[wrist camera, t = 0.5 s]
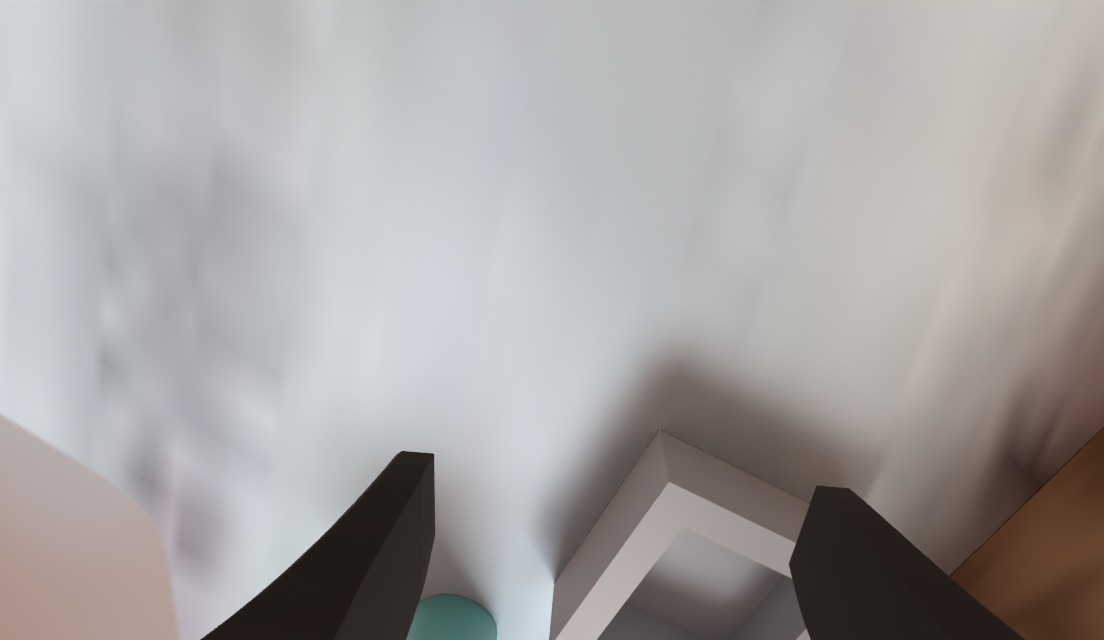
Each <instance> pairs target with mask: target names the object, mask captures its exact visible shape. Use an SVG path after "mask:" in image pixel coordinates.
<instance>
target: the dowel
mask: <svg viewBox="0 0 1104 640" xmlns="http://www.w3.org/2000/svg"><path fill="white" fill-rule="evenodd" d="M496 638H497V628H496V624H495V622H494V620H493V618H492V616H491V615H490V614H489V613H488V612H487V610H486V609H484V608H483V607H482V606H481V605H479V604H478V603H476V602H474V601H472V600H470V599H467V598H464V597H461V596H455V595H438V596H433V597H430V598H427V599H425V600H423V601H421V602H420V603H419V604H418V606H417V609H416V612H415V615H414V618H413V621H412V624H411V627H410V630H409V633H408V636H407V639H406V640H496Z"/></svg>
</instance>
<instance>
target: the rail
mask: <svg viewBox="0 0 1104 640" xmlns="http://www.w3.org/2000/svg"><path fill="white" fill-rule="evenodd" d="M950 578H951V579H952V580H954V581H955V582H956V583H957V584H958V585H959V586H961V587H962V588H963V589H964V590H965V591H966V592H968V593H969V594H970V595H971V596H972V597H974V598H975V599H976V600H977V601H978V602H979V603H981V604H982V605H983V606H984V607H986V608H987V609H988V610H989V611H991V612H992V613H993V614H994V615H995V616H997V617H998V618H999V619H1000V620H1002V621H1003V622H1004V623H1005V624H1007V625H1008V626H1009V627H1010V628H1012V629H1013V630H1014V631H1015V632H1017V633H1018V634H1019V635H1020V636H1021V637H1023V638H1024V639H1025V640H1104V428H1103V429H1102V430H1101V431H1100V432H1099V433H1098V434H1097V435H1096V436H1095V437H1094V438H1093V439H1092V440H1091V441H1090V442H1089V443H1088V444H1087V445H1086V446H1084V447H1083V448H1082V449H1081V450H1080V451H1079V452H1078V453H1077V454H1076V455H1075V456H1074V457H1073V458H1072V459H1071V460H1070V461H1069V462H1068V463H1067V464H1066V465H1065V466H1064V467H1063V468H1062V469H1061V470H1060V471H1059V472H1058V473H1057V474H1056V475H1055V476H1054V477H1053V478H1051V479H1050V480H1049V481H1048V482H1047V483H1046V484H1045V485H1044V486H1043V487H1042V488H1041V489H1040V490H1039V491H1038V492H1037V493H1036V494H1035V495H1034V496H1033V497H1032V498H1031V499H1030V500H1029V501H1028V502H1027V503H1026V504H1025V505H1024V506H1023V507H1022V508H1021V509H1020V510H1018V511H1017V512H1016V513H1015V514H1014V515H1013V516H1012V517H1011V518H1010V519H1009V520H1008V521H1007V522H1006V523H1005V524H1004V525H1003V526H1002V527H1001V528H1000V529H999V530H998V531H997V532H996V533H995V534H994V535H993V536H992V537H991V538H990V539H989V540H988V541H986V542H985V543H984V544H983V545H982V546H981V547H980V548H979V549H978V550H977V551H976V552H975V553H974V554H973V555H972V556H971V557H970V558H969V559H968V560H967V561H966V562H965V563H964V564H963V565H962V566H961V567H960V568H959V569H958V570H957V571H956V572H955V573H953V574H952V575H951V576H950Z"/></svg>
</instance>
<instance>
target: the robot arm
mask: <svg viewBox="0 0 1104 640" xmlns="http://www.w3.org/2000/svg"><path fill="white" fill-rule="evenodd" d="M434 537H435V497H434V454H431V453H419V452H407V451H401V452H400V453H398V454H397V455H396V456H395V457H394V458H393V459H392V461H391V462H390V463H389V464H388V465H387V467H386V468H385V469H384V470H383V471H382V472H381V474H380V475H379V476H378V477H377V478H376V479H375V481H374V482H373V483H372V484H371V485H370V486H369V487H368V488H367V490H366V491H365V492H364V493H363V494H362V495H361V496H360V497H359V498H358V500H357V501H356V502H355V503H354V504H353V505H352V506H351V507H350V508H349V509H348V510H347V511H346V512H345V513H344V514H343V515H342V516H341V517H340V518H339V519H338V520H337V522H336V523H335V524H334V525H333V526H332V527H331V528H330V529H329V530H328V531H327V532H326V533H325V534H324V535H323V536H322V537H321V538H320V539H319V540H318V541H317V542H316V543H315V544H313V545H312V546H311V547H310V548H309V549H308V550H307V551H306V552H305V553H304V554H303V555H302V556H301V557H300V558H299V559H298V560H296V561H295V562H294V563H293V564H292V565H291V566H290V567H289V568H288V569H287V570H286V571H285V572H284V573H282V574H281V575H280V576H279V577H278V578H277V579H276V580H274V581H273V582H272V583H271V584H270V585H269V586H268V587H266V588H265V589H264V590H263V591H262V592H261V593H259V594H258V595H257V596H256V597H255V598H253V599H252V600H251V601H250V602H248V603H247V604H246V605H245V606H244V607H242V608H241V609H240V610H239V611H237V612H236V613H235V614H234V615H232V616H231V617H230V618H229V619H227V620H226V621H225V622H223V623H222V624H221V625H219V626H218V627H217V628H215V629H214V630H213V631H211V632H210V633H209V634H207V635H206V636H205V637H203V638H202V639H201V640H406V639H407V636H408V633H409V630H410V627H411V624H412V621H413V618H414V615H415V612H416V609H417V606H418V603H419V600H420V597H421V594H422V590H423V587H424V583H425V579H426V574H427V570H428V565H429V560H430V556H431V551H432V546H433V541H434ZM789 568H790V572H791V576H792V580H793V584H794V588H795V592H796V596H797V600H798V603H799V607H800V611H801V614H802V618H803V621H804V623H805V626H806V629H807V631H808V634H809V637H810V639H811V640H1025V639H1024V638H1023V637H1021V636H1020V635H1019V634H1018V633H1017V632H1015V631H1014V630H1013V629H1012V628H1010V627H1009V626H1008V625H1007V624H1005V623H1004V622H1003V621H1002V620H1000V619H999V618H998V617H997V616H995V615H994V614H993V613H992V612H991V611H989V610H988V609H987V608H986V607H984V606H983V605H982V604H981V603H979V602H978V601H977V600H976V599H975V598H974V597H972V596H971V595H970V594H969V593H968V592H966V591H965V590H964V589H963V588H962V587H961V586H959V585H958V584H957V583H956V582H955V581H954V580H952V579H951V578H950V577H949V576H948V575H947V574H945V573H944V572H943V571H942V570H941V569H940V568H939V567H937V566H936V565H935V564H934V563H933V562H932V561H931V560H930V559H928V558H927V557H926V556H925V555H924V554H923V553H922V552H921V551H919V550H918V549H917V548H916V547H915V546H914V545H913V544H912V543H910V542H909V541H908V540H907V539H906V538H905V537H904V536H903V535H902V534H900V533H899V532H898V531H897V530H896V529H895V528H894V527H893V526H892V525H890V524H889V523H888V522H887V521H886V520H885V519H884V518H883V517H882V516H880V515H879V514H878V513H877V512H876V511H875V510H874V509H873V508H871V507H870V506H869V505H868V504H867V503H866V502H865V501H863V500H862V499H861V498H860V497H859V496H857V495H856V494H855V493H854V492H853V491H851V490H850V489H848V488H837V487H825V486H816V489H815V492H814V494H813V497H812V500H811V503H810V505H809V508H808V511H807V514H806V517H805V519H804V522H803V525H802V528H801V531H800V533H799V536H798V539H797V542H796V545H795V547H794V550H793V553H792V556H791V559H790V561H789Z"/></svg>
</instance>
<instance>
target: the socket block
mask: <svg viewBox="0 0 1104 640" xmlns="http://www.w3.org/2000/svg"><path fill="white" fill-rule="evenodd" d="M809 505H810V503H808V502H806V501H804V500H802V499H800V498H798V497H796V496H794V495H792V494H790V493H788V492H786V491H784V490H782V489H780V488H777V487H775V486H773V485H771V484H769V483H767V482H765V481H763V480H761V479H759V478H757V477H755V476H753V475H751V474H749V473H747V472H745V471H743V470H741V469H739V468H737V467H735V466H733V465H731V464H729V463H727V462H725V461H723V460H721V459H718V458H716V457H714V456H712V455H710V454H708V453H706V452H704V451H702V450H700V449H698V448H696V447H694V446H692V445H690V444H688V443H686V442H684V441H682V440H680V439H678V438H676V437H674V436H672V435H670V434H668V433H666V432H664V431H662V430H659V431H658V432H657V434H656V435H655V437H654V438H653V440H652V441H651V443H650V444H649V446H648V447H647V448H646V450H645V451H644V453H643V454H642V456H641V457H640V459H639V460H638V462H637V463H636V464H635V466H634V467H633V469H632V470H631V472H630V473H629V475H628V476H627V478H626V479H625V481H624V482H623V483H622V485H621V486H620V488H619V489H618V491H617V492H616V494H615V495H614V497H613V498H612V500H611V501H610V502H609V504H608V505H607V507H606V508H605V510H604V511H603V513H602V514H601V516H600V517H599V519H598V520H597V521H596V523H595V524H594V526H593V527H592V529H591V530H590V532H589V533H588V535H587V536H586V538H585V539H584V540H583V542H582V543H581V545H580V546H579V548H578V549H577V551H576V552H575V554H574V555H573V556H572V558H571V559H570V561H569V562H568V564H567V565H566V567H565V568H564V570H563V571H562V573H561V574H560V575H559V577H558V578H557V580H556V581H555V583H554V592H553V603H552V615H551V626H550V637H549V640H811V639H810V637H809V634H808V631H807V629H806V626H805V623H804V621H803V618H802V614H801V611H800V607H799V603H798V600H797V596H796V592H795V588H794V584H793V580H792V576H791V572H790V568H789V561H790V559H791V556H792V553H793V550H794V547H795V545H796V542H797V539H798V536H799V533H800V531H801V528H802V525H803V522H804V519H805V517H806V514H807V511H808V508H809Z"/></svg>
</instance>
